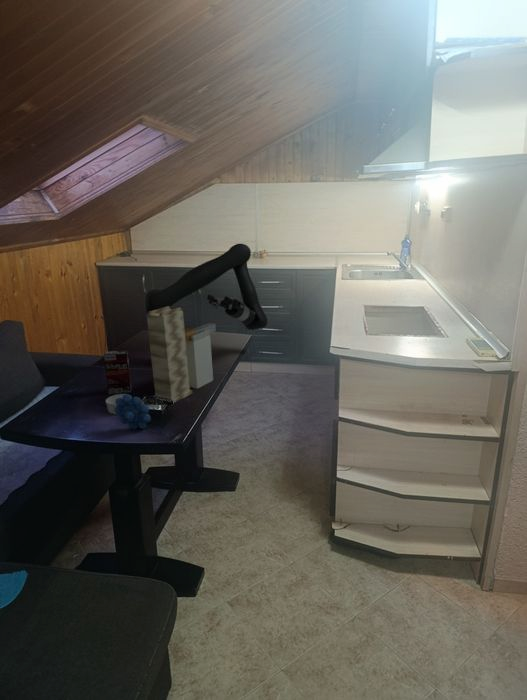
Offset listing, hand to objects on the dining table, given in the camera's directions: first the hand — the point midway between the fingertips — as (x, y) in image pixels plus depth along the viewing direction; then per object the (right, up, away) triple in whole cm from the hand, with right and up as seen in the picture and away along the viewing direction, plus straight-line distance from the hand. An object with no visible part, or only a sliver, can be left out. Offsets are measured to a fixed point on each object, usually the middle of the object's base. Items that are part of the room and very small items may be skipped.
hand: (216, 297), depth 190 cm
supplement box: (-36, -37, -8) cm, 53 cm away
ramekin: (-31, -43, -25) cm, 58 cm away
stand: (-15, -38, -14) cm, 44 cm away
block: (-6, -16, -6) cm, 18 cm away
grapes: (-23, -47, -40) cm, 66 cm away
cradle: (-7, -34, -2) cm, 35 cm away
